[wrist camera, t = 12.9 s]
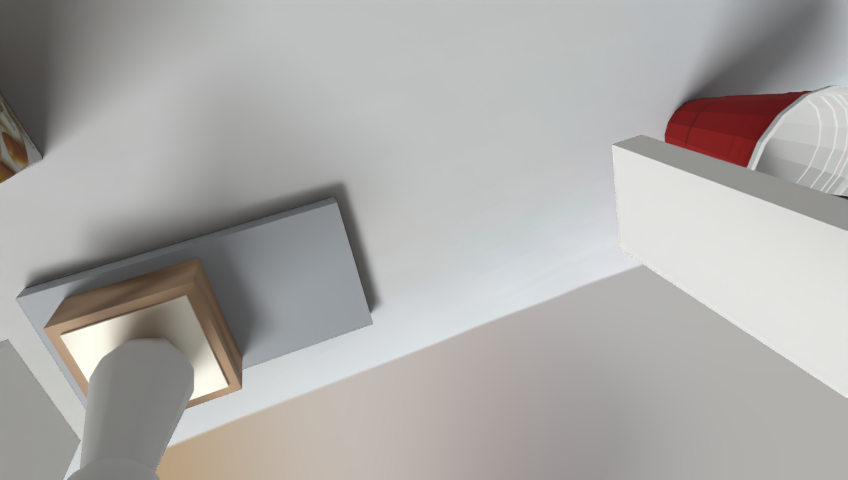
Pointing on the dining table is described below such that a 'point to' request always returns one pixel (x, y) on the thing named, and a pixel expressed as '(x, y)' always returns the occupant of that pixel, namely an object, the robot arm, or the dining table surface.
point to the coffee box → (14, 145)
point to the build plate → (246, 283)
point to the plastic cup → (772, 134)
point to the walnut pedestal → (151, 326)
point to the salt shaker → (133, 409)
